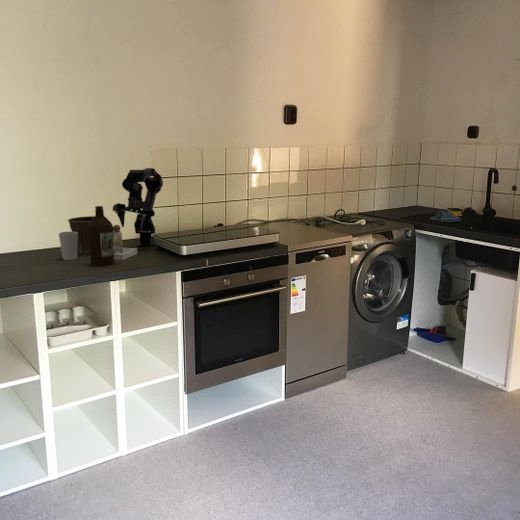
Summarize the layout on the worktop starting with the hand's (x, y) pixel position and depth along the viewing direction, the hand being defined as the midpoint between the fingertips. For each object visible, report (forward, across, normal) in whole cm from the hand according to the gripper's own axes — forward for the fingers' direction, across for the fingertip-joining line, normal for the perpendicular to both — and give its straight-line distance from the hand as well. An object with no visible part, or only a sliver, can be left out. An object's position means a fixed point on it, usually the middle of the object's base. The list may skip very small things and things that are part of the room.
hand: (132, 228), depth 270 cm
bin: (+14, -6, -1) cm, 16 cm away
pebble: (+16, -8, -6) cm, 18 cm away
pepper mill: (+14, -6, -2) cm, 15 cm away
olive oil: (+20, -16, -11) cm, 28 cm away
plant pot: (+12, -14, +15) cm, 24 cm away
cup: (+18, -25, +6) cm, 31 cm away
